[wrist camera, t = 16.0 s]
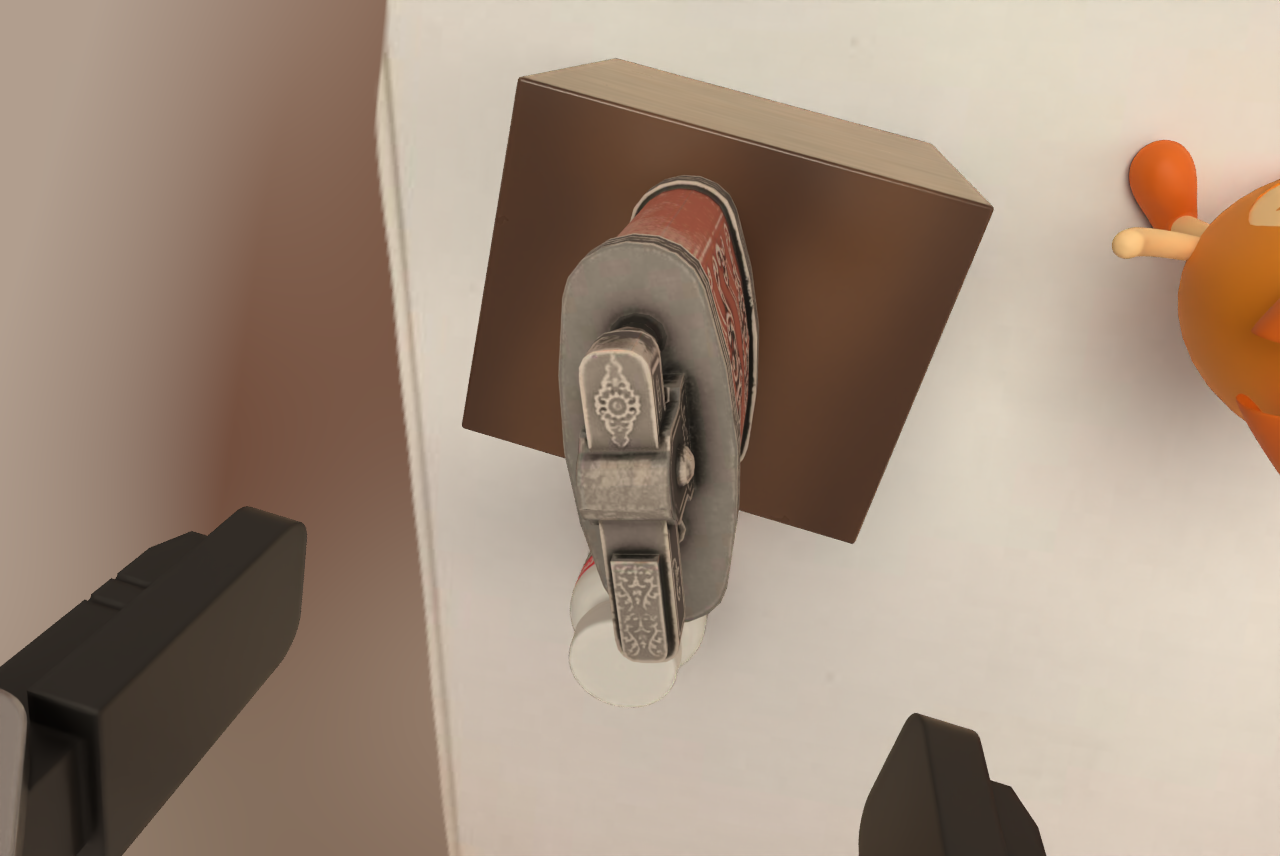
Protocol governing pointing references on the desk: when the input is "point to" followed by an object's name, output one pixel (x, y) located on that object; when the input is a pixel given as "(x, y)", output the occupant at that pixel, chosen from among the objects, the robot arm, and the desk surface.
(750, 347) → the lighter
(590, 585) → the pill bottle
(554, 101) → the block
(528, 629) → the desk surface
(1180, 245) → the toy figure
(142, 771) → the robot arm
